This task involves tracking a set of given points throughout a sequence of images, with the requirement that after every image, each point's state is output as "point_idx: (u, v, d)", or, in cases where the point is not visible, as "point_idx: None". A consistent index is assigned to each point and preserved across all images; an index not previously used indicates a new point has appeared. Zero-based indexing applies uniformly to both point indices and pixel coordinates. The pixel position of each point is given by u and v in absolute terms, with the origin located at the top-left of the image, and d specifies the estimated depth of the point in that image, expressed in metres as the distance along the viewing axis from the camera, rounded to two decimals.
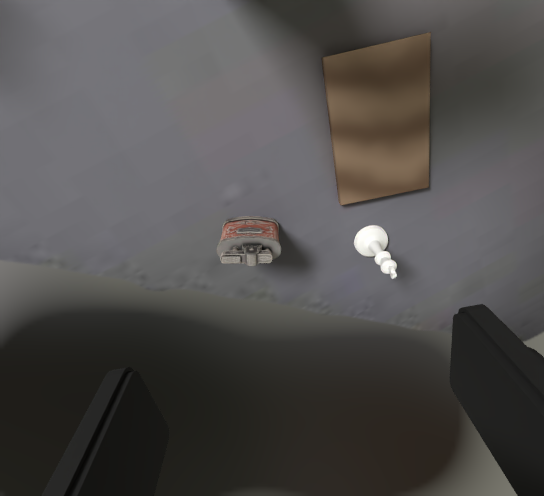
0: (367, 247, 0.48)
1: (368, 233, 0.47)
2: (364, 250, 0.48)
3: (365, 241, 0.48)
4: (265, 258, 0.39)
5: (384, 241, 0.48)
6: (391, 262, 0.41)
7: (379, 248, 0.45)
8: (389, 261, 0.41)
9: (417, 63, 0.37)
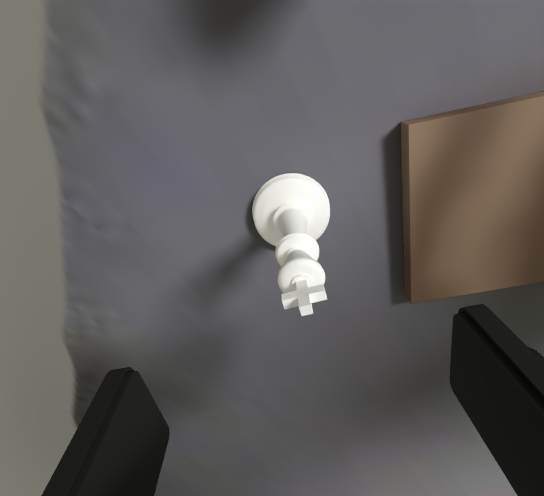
0: (287, 207, 0.19)
1: (319, 204, 0.20)
2: (272, 201, 0.19)
3: (299, 200, 0.19)
4: None
5: None
6: (320, 284, 0.14)
7: None
8: (322, 278, 0.14)
9: None
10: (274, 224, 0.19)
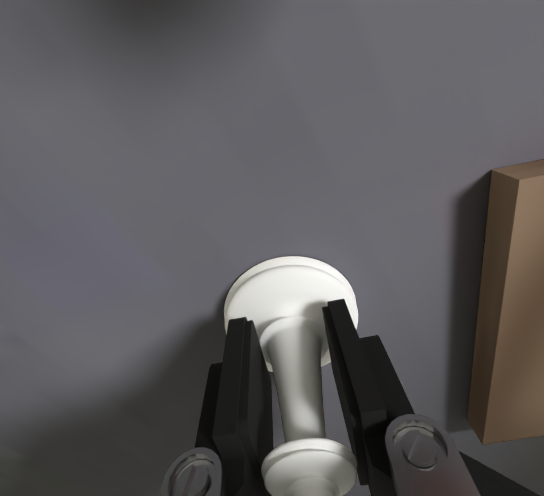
0: (284, 323, 0.10)
1: None
2: (258, 309, 0.11)
3: (306, 307, 0.11)
4: None
5: None
6: None
7: (322, 402, 0.09)
8: None
9: None
10: None
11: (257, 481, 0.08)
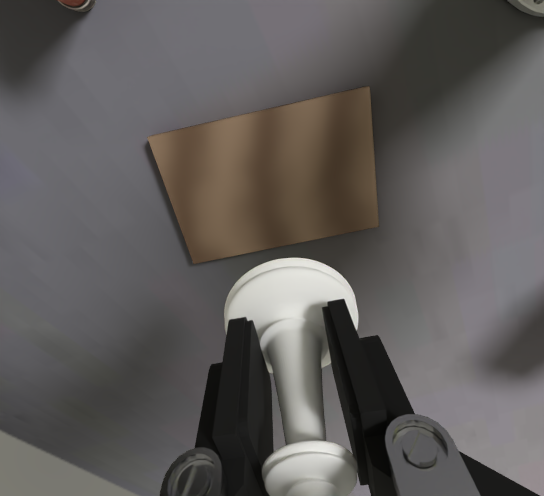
0: (284, 325, 0.10)
1: None
2: (258, 310, 0.11)
3: (306, 309, 0.11)
4: None
5: None
6: None
7: (322, 404, 0.09)
8: None
9: (347, 218, 0.30)
10: (262, 351, 0.11)
11: (257, 481, 0.08)
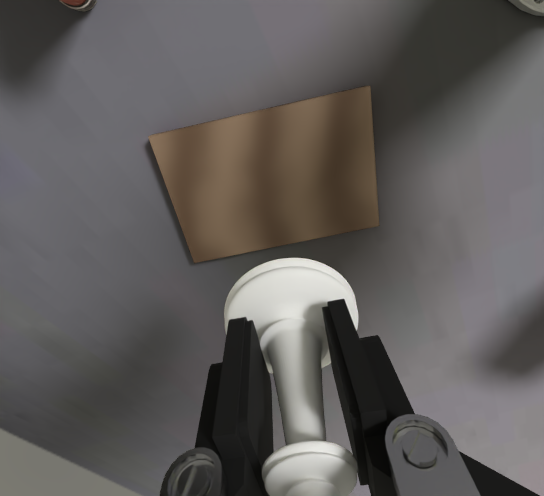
0: (284, 325, 0.10)
1: None
2: (258, 310, 0.11)
3: (306, 309, 0.11)
4: None
5: None
6: None
7: (322, 404, 0.09)
8: None
9: (348, 217, 0.30)
10: (262, 351, 0.11)
11: (257, 481, 0.08)
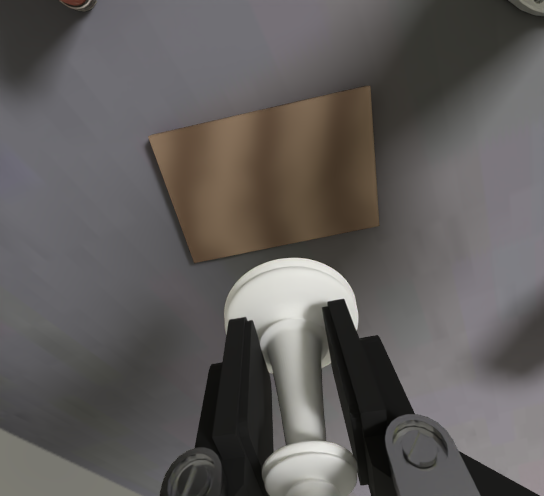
0: (284, 325, 0.10)
1: None
2: (258, 310, 0.11)
3: (306, 309, 0.11)
4: None
5: None
6: None
7: (322, 404, 0.09)
8: None
9: (348, 217, 0.30)
10: (262, 351, 0.11)
11: (257, 481, 0.08)
